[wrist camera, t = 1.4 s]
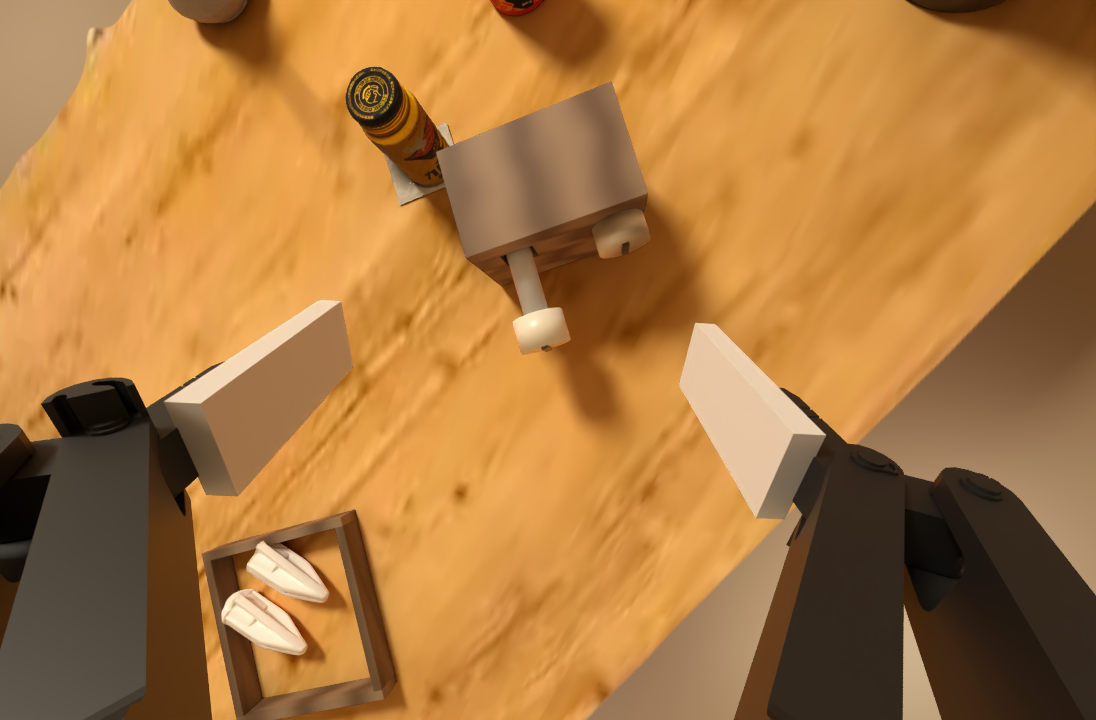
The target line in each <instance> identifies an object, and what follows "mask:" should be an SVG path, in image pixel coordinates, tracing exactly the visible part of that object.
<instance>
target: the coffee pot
mask: <svg viewBox="0 0 1096 720" xmlns="http://www.w3.org/2000/svg"><path fill="white" fill-rule="evenodd" d="M168 1H169V3H170V4H171V6H172V7H173V8H174V9H175V10H176V11H177V12H179V13H180V14H181V15H183V16H184V17H187V18H189V19H192V20H195V21H197V22H200V23H226V22H229V21H231V20H233V19H235V18H236V17H237V16H238V15H239V14H240V13H241V12H242V11H243V9H244V8H245V6H246V4H247V2H248V0H168Z"/></svg>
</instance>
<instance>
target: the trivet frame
mask: <svg viewBox="0 0 1096 720" xmlns="http://www.w3.org/2000/svg"><path fill="white" fill-rule="evenodd" d="M333 528H335V531H336V535H337V539H338V543H339V548H340V552H341V556H342V560H343V564H344V569H345V573H346V577H347V581H348V585H349V589H350V594H351V598H352V602H353V606H354V610H355V615H356V619H357V623H358V627H359V631H360V636H361V640H362V644H363V648H364V652H365V656H366V661H367V665H368V669H369V673H370V677H371V678H366V679H360V680H355V681H350V682H345V683H340V684H335V685H330V686H325V687H320V688H314V689H309V690H304V691H299V692H294V693H289V694H284V695H279V696H274V697H268V698H263V699H262V694H261V689H260V685H259V680H258V675H257V671H256V666H255V662H254V657H253V652H252V648H251V643H250V640H249V639H248V638H246V637H245V636H243V635H242V634H240V633H239V632H237V631H236V630H235V629H233V628H232V627H230V626H229V625H226V624H223V622H222V616H221V615H222V610H223V608H224V606H225V603H226V601H227V599H228V598H229V597H230V596H231V595H233V594H234V593H236V592H238V591H239V588H238V583H237V579H236V574H235V569H234V565H233V560H232V555H233V554H237V553H241V552H245V551H249V550H253V549H256V547H255V546H257V544H260V542H262V541H264V542H265V543H266V544H267V545H272V544H276V543H279V542H283V541H287V540H291V539H295V538H299V537H302V536H306V535H310V534H314V533H318V532H321V531H325V530H329V529H333ZM202 557H203V562H204V567H205V571H206V576H207V581H208V586H209V590H210V595H211V600H212V605H213V609H214V614H215V619H216V624H217V628H218V633H219V638H220V643H221V647H222V652H223V657H224V662H225V666H226V671H227V676H228V680H229V685H230V690H231V695H232V699H233V704H234V709H235V714H236V718H237V720H276V719H282V718H287V717H292V716H298V715H303V714H309V713H314V712H319V711H325V710H330V709H335V708H341V707H346V706H352V705H357V704H362V703H368V702H373V701H379V700H384V699H385V698H386V696H387V695H388V693H389V692H390V691H391V689H392V688H393V686H394V685H395V683H396V682H397V681H396V677H395V673H394V669H393V665H392V660H391V656H390V652H389V648H388V644H387V640H386V636H385V632H384V628H383V624H382V619H381V615H380V611H379V607H378V603H377V599H376V595H375V591H374V587H373V583H372V578H371V574H370V570H369V566H368V562H367V558H366V554H365V550H364V546H363V541H362V537H361V533H360V529H359V525H358V521H357V517H356V513H355V510H352V511H348V512H344V513H340V514H337V515H333V516H329V517H325V518H322V519H318V520H314V521H310V522H307V523H303V524H299V525H295V526H292V527H288V528H284V529H280V530H277V531H273V532H269V533H265V534H262V535H258V536H254V537H250V538H247V539H243V540H239V541H235V542H232V543H228V544H224V545H221V546H219V547H217V548H214V549H212V550H210V551H207V552H205V553H203V554H202Z"/></svg>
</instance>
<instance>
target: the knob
mask: <svg viewBox="0 0 1096 720" xmlns="http://www.w3.org/2000/svg"><path fill="white" fill-rule="evenodd" d="M506 256H507V259H508V263H509V266H510V270H511V273H512V277H513V280H514V284H515V287H516V290H517V294H518V297H519V301H520V304H521V308H522V311H523V315H524V316H522V317H519V318H518V319H516V320H514V321H513V326H514V330H515V333H516V337H517V340H518V344H519V347H520V351H521V354H523V355H524V354H531V353H536V352H540V351H546V352H547V351H550V350H552V348H554V347H557V346H559V345H562V344H565V343H567V342H569V341H570V340H571V338H570V334H569V331H568V328H567V324H566V321H565V318H564V314H563V311H562V308H559V307H555V308H548V306H547V302H546V299H545V295H544V292H543V289H542V285H541V282H540V278H539V275H538V272H537V268H536V265H535V261H534V258H533V255H532V251H531V248H530V246H529V247H526V248H524V249H521V250H518V251H515V252H512V253H509V254H506Z"/></svg>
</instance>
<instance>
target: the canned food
mask: <svg viewBox="0 0 1096 720" xmlns="http://www.w3.org/2000/svg"><path fill="white" fill-rule="evenodd" d="M490 1H491V2H492V3H493V5H494V6H495V7H496V9H497V10H499V11H500V12H502V13H504V14H506V15H510V16H518V15H523V14H526V13H528V12H530V11H532V10H534V9H535V8H536V7H538V6H539V5H540V4H541V3H542V2H543V0H490Z"/></svg>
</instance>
